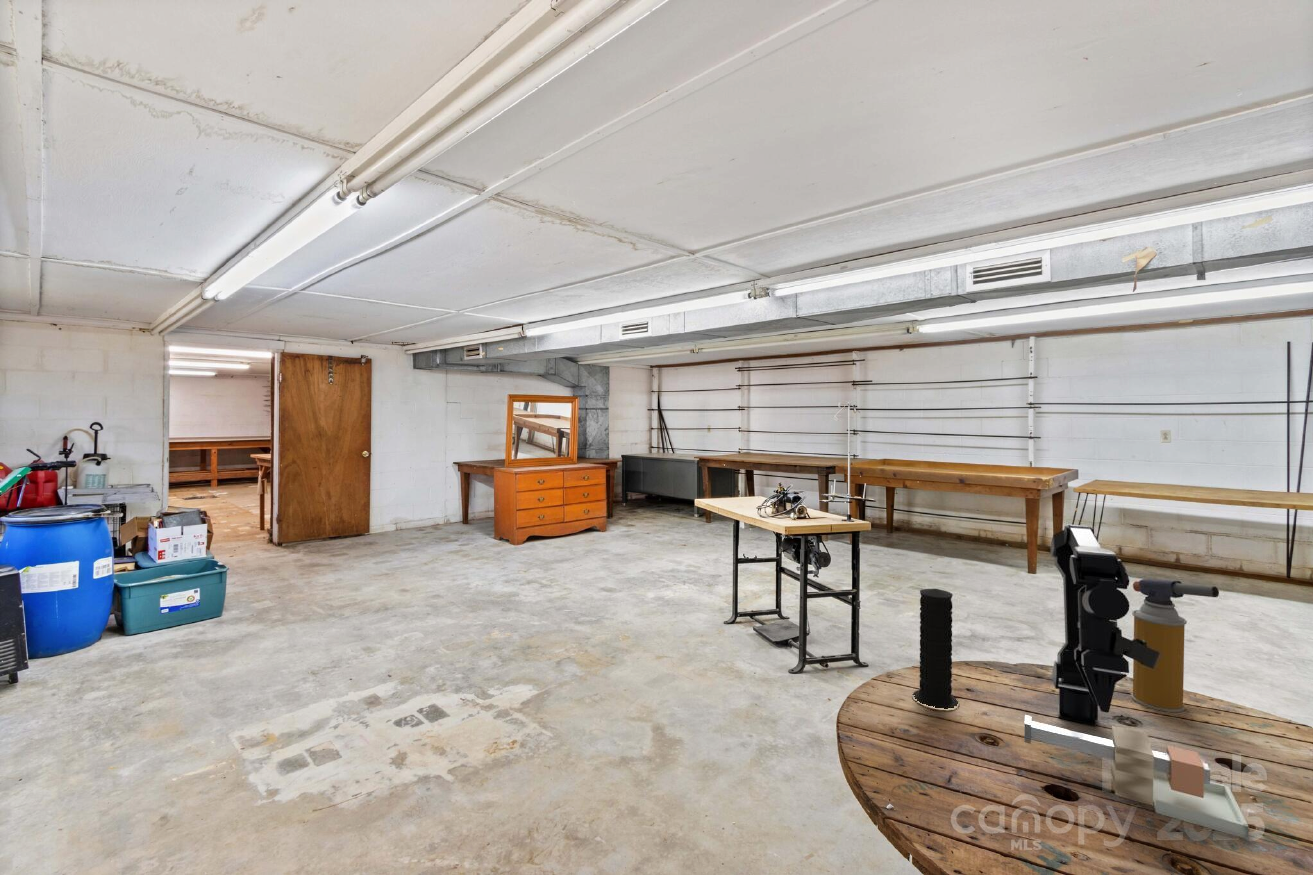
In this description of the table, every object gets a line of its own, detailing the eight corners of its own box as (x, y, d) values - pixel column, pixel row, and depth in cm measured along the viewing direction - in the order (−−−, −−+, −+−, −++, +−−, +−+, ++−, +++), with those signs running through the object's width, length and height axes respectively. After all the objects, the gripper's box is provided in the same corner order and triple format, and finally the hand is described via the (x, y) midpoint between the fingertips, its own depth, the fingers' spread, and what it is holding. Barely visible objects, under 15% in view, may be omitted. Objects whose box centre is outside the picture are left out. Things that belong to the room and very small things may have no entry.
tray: (1155, 812, 96) (1155, 800, 96) (1145, 775, 106) (1145, 764, 106) (1248, 839, 90) (1248, 826, 90) (1227, 796, 100) (1228, 785, 100)
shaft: (1024, 742, 110) (1024, 723, 109) (1025, 733, 113) (1025, 714, 113) (1210, 790, 95) (1211, 769, 95) (1205, 778, 98) (1206, 757, 98)
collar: (1171, 789, 97) (1171, 759, 97) (1166, 773, 102) (1166, 745, 101) (1203, 798, 95) (1204, 767, 95) (1196, 781, 99) (1197, 752, 99)
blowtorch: (1148, 689, 139) (1150, 566, 138) (1229, 723, 124) (1232, 585, 123) (1118, 694, 137) (1121, 569, 136) (1197, 729, 121) (1200, 588, 120)
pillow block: (1115, 795, 100) (1116, 746, 100) (1111, 771, 107) (1111, 725, 107) (1152, 805, 98) (1153, 755, 97) (1146, 780, 104) (1146, 733, 104)
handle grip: (962, 697, 136) (917, 686, 142) (963, 586, 135) (917, 580, 141) (955, 715, 128) (907, 702, 133) (956, 597, 127) (908, 590, 133)
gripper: (1165, 627, 95) (1172, 728, 92) (1144, 625, 111) (1149, 712, 107) (1082, 616, 101) (1085, 711, 98) (1072, 616, 117) (1075, 698, 113)
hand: (1101, 708), depth 104 cm, fingers open, 9 cm apart
